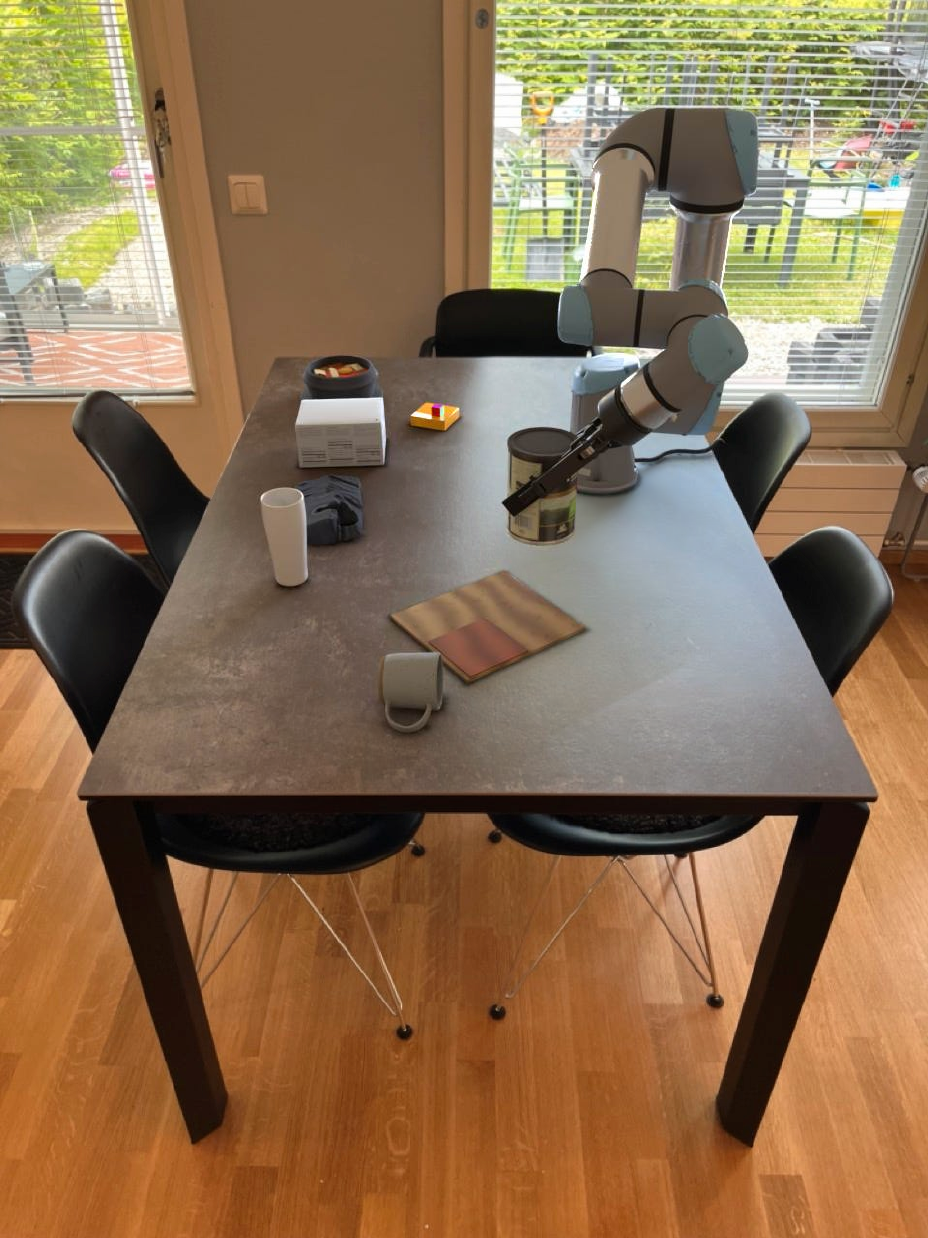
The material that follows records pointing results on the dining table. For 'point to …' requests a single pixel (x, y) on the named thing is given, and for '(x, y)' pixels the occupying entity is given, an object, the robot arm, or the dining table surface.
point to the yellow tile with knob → (435, 416)
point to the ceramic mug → (411, 684)
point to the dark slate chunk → (332, 509)
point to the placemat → (486, 625)
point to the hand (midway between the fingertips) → (522, 492)
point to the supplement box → (341, 432)
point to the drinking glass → (286, 534)
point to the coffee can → (557, 511)
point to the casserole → (340, 379)
